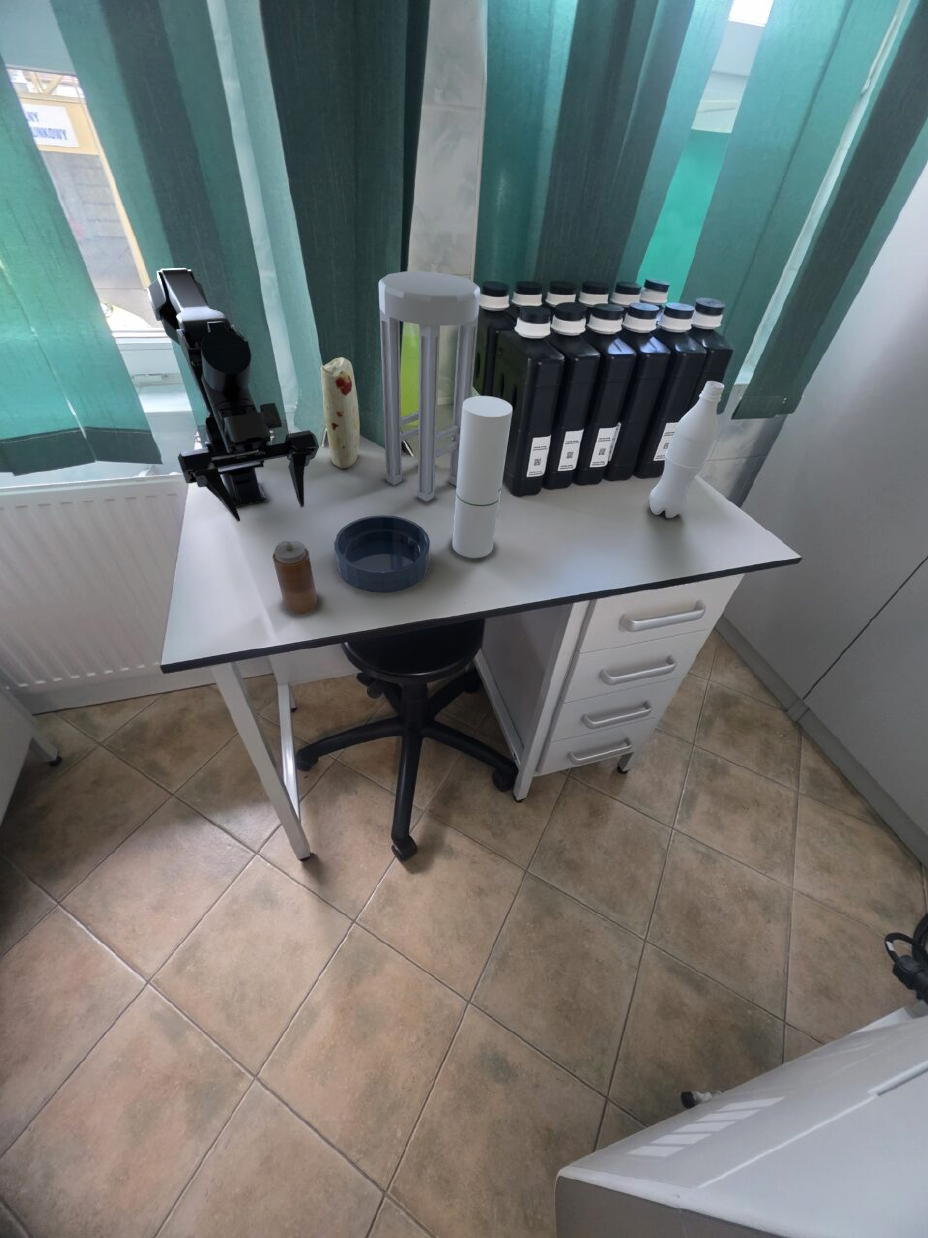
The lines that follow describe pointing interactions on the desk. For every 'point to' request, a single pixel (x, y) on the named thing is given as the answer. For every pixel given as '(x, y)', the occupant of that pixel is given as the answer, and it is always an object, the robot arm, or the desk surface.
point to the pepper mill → (295, 576)
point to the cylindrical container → (480, 473)
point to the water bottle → (687, 452)
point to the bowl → (382, 553)
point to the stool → (425, 365)
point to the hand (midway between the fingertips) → (271, 513)
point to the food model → (341, 411)
